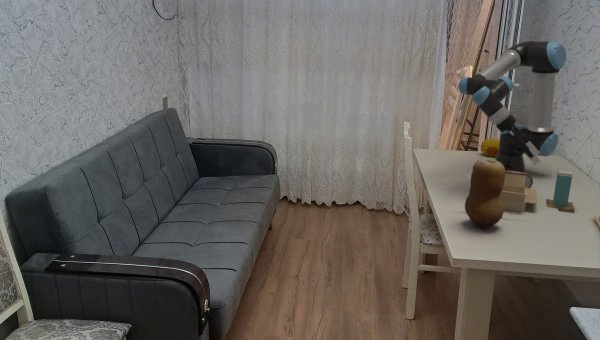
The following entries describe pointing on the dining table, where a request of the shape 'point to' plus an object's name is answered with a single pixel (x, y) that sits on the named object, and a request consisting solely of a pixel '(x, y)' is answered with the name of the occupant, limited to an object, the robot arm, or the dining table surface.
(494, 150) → the lantern
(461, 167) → the dining table surface
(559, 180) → the teal box
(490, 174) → the butternut squash
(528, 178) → the tin
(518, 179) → the carton
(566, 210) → the walnut board
